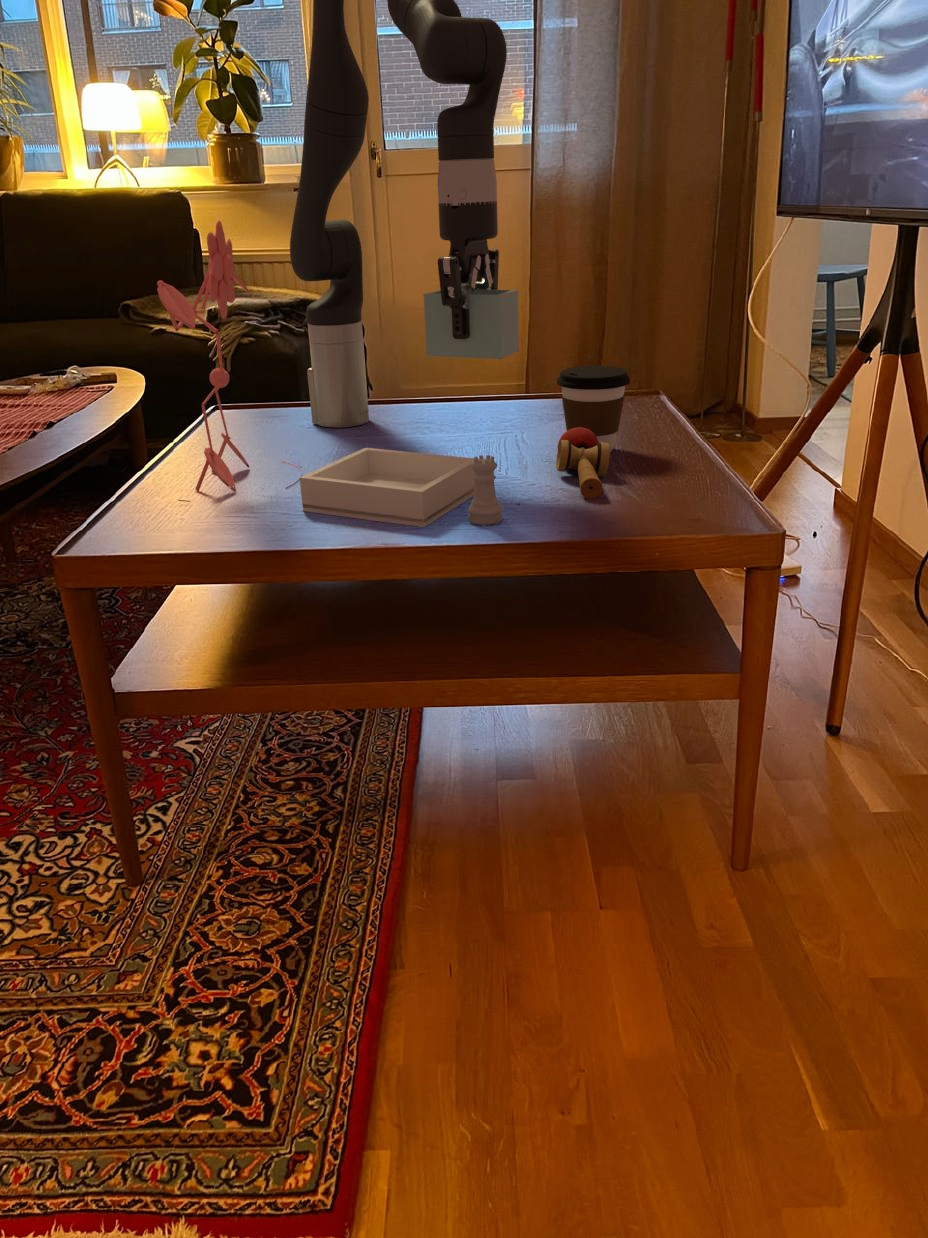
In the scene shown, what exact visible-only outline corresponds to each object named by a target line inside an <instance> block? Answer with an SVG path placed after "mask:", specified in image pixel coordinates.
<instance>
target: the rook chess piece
mask: <svg viewBox="0 0 928 1238" xmlns="http://www.w3.org/2000/svg"><path fill="white" fill-rule="evenodd" d="M473 458H474V462H473V463H472V465H471V467H472V469H473V470H474V472H475V476H474V477H473V479H474V480H475V490H474V496H472V497H473V498H472V500H471V502H470V503H471V504H470V505H469V507H468V511H467V512H468V513H469V515H468V516H467V519H468V520H469V522H470V523H471V524H473V525H475V526H480V525H485V526H484V527H486V526H488V525H489V526H494V525H498V524H499V523H501V521H502V520H503V519H504V515H503V514H502V512H503V510H504V509H503V506H502V505H501V504H500V503H499V502H500V501H499V499H498V497H497V491H496V487H495V486H496V485H495V480H496V478H497V477H496V475H495V470H496V469H497V467H498V464H497V462H496V461H495V456H491V455H490V454H488V455H485V458H484V455H483V454H481V455H478V456H474V457H473Z"/></svg>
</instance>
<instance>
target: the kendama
mask: <svg viewBox="0 0 928 1238" xmlns="http://www.w3.org/2000/svg"><path fill="white" fill-rule="evenodd" d="M610 454H611V452H610V446H609V444H608V443H604V442H600V443H599V441H598V439H597V437H596V436H595V434H594V433H593V432H592V431H590V430H589V429H586V428H583V427H576V428H572V429H570V430H568V431H567V430H566V431H565V432H564V433H563V434H562V435H561V437H560V438H559V441H558V443H557V455H556V464H555V465H556V471H557V472H560V473H561V472H562V473H563V472H564V473H565V472H566V471H567V470H569V469H573V470H574V471H575V470H577V474H578V480H579V490H580V491H579V493H580V494H581V496H582V497H583V498H585V499H589V500H590V499H591V500H592V499H597V498H599V496H601V494H602V492H603V489H604V487H603V483H602V481H601V480H600V478H599V477H601V478H603V477H605V476H606V475H607V472H608V469H609V464H610V457H611V456H610Z"/></svg>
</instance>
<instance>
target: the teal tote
mask: <svg viewBox="0 0 928 1238" xmlns="http://www.w3.org/2000/svg"><path fill="white" fill-rule="evenodd" d="M448 294H449V295H450V289H449V288H448ZM462 298H463V292H462ZM423 306H424V308H423V309H424V311H423V312H424V329H425V348H426V351H425V352H426V356H427V357H445V358H446V357H447V358H466V359H467V358H468V359H469V358H470V359H490V360H492V359H493V360H503V359H504V358H507V357H510V356H512V355H514V354H516V353H519V352H520V351H519V350H520V348H519V345H520V344H519V342H520V341H519V338H520V337H519V334H520V333H519V290H518V289H498V290H480V289H475V290H474V292H472V293H471V294H470V295H469V307H468V309H469V326H470V336H469V338H467V339H455V338H454V337H453V332H452V309H449V307H448V306H443V305H442V299H441V290H440V289H439V290H438V289H437V290H435V291H431V292H427V293H423Z"/></svg>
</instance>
